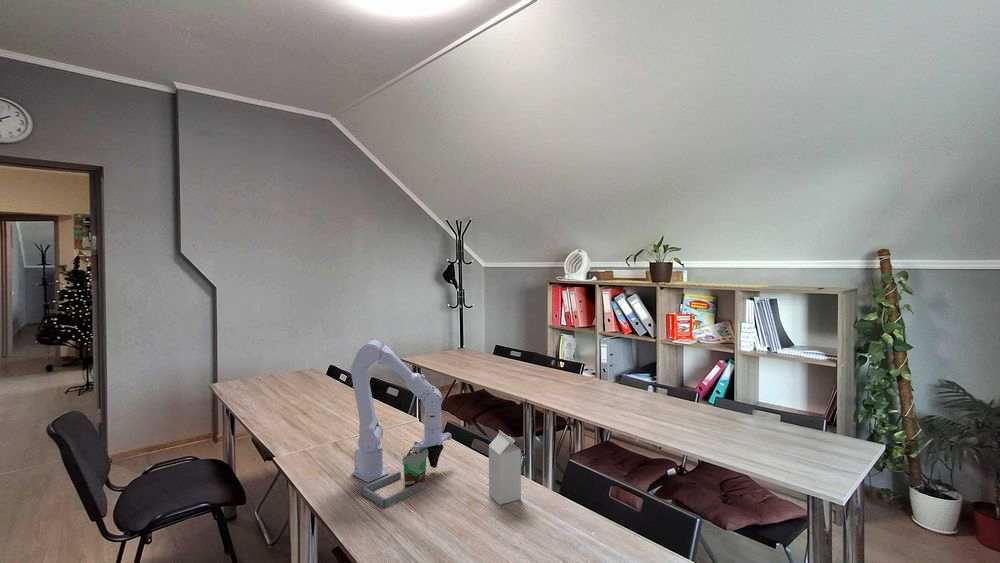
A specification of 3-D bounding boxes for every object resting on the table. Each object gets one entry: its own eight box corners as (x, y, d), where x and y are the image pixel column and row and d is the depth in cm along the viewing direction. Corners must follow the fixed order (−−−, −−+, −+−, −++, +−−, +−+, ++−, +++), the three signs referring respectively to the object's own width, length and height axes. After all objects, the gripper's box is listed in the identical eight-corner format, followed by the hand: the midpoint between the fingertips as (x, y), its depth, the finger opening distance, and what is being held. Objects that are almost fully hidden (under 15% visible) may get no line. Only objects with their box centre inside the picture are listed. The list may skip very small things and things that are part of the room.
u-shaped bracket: (361, 493, 137) (361, 487, 137) (399, 477, 148) (399, 471, 147) (384, 507, 130) (384, 500, 129) (422, 489, 140) (422, 482, 140)
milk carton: (499, 505, 130) (499, 440, 129) (488, 494, 137) (488, 432, 136) (521, 499, 134) (521, 436, 133) (509, 488, 140) (509, 428, 139)
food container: (422, 490, 139) (422, 458, 139) (403, 489, 140) (402, 457, 140) (433, 471, 152) (432, 441, 151) (415, 470, 152) (414, 441, 152)
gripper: (423, 435, 142) (424, 478, 143) (457, 423, 153) (457, 462, 154) (409, 430, 147) (410, 471, 147) (443, 418, 158) (443, 456, 158)
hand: (433, 466), depth 151 cm, fingers closed
